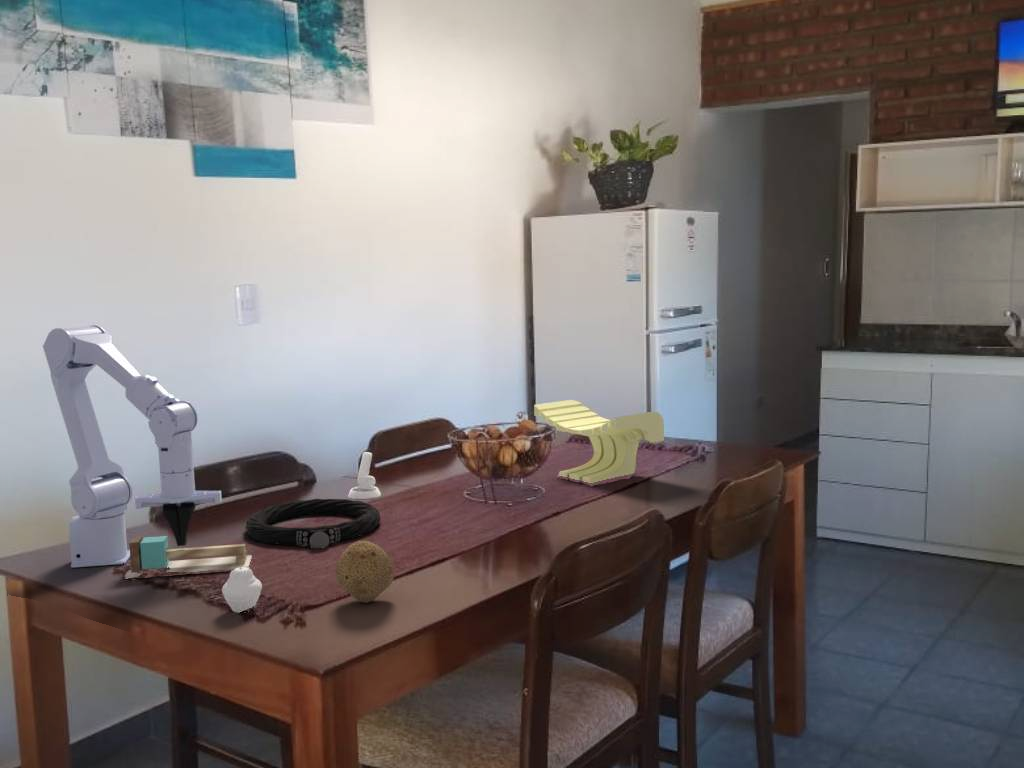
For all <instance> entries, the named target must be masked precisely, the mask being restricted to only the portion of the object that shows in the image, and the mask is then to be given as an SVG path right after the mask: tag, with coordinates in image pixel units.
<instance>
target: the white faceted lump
mask: <svg viewBox="0 0 1024 768" xmlns="http://www.w3.org/2000/svg"><path fill="white" fill-rule="evenodd" d="M256 577H257V576H255V575H254V572H253V570H252V569H251V568H250V567H249V568H247V567H239V568H236V569H234V570H232V571H231V572H229V577H228V579H227V581H225V583H224V584H223V586H222V588H221V593H222V595H223V596H224V599H225V601H226V602H227V604H228V606H229V607H230V609H231V610H232V611H233V612H234V613H237V614H241V613H240V612H242V611H244V610H247V609H249V608H252V607H253V606H255V607H256V605H257V602H258V601H259V598H260V596H261V591H262V589H263V585H262V582H261V581H260V580H259V579H258V578H256Z"/></svg>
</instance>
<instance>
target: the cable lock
mask: <svg viewBox="0 0 1024 768" xmlns="http://www.w3.org/2000/svg"><path fill="white" fill-rule="evenodd" d="M324 514H326V515H337V514H341V515H340V516H351V515H353V516H352V517H355V516H356V517H355V518H356V519H353V520H348V521H345V522H341V523H337V524H328V525H321V526H315V527H314V526H313V527H311V526H310V527H307V526H306V527H302V526H300V527H287V526H286V527H285V526H276V525H275V526H274V525H272V524H273V523H275V522H279V521H284V520H288V519H292V518H298V517H308V516H315V515H317V516H318V515H319V516H320V515H321V516H322V515H324ZM324 516H325V515H324ZM357 517H358V518H357ZM380 521H381V514H380V511H379V509H377V508H376V507H374V506H373V505H372V504H370V503H366V502H364V501H362V500H353V499H352V500H351V499H348V498H346V499H345V498H326V499H325V498H313V499H308V500H307V499H306V500H304V499H303V500H299V499H298V500H295V501H290V502H286V503H279V504H274V505H270V506H269V507H266V508H262V509H259V510H258V511H257V512H254V513H252V514H251V515H250V517H249V518H247V519H246V525H245V527H244V529H245V530H247V531H246V533H247V534H248V535H249V536H250V537H251V538H252V539H253V540H256V541H259V540H261V541H264V542H263V543H265V542H267V543H266V544H271V543H273V544H272V545H277V543H278V544H285V545H284V546H297V545H300V546H299V547H301V546H303V545H304V546H303V547H305V546H307V547H312V548H311V549H313V548H322V547H326V548H327V546H330V545H329V543H333V544H335V543H334V542H337V541H338V542H339V541H340V540H343V541H346V540H345V539H347V540H349V539H348V538H352V537H355V538H357V537H356V536H359V535H362V534H364V535H365V533H366V534H367V532H368V533H370V532H372V531H373V530H374V529H375V528H377V527H378V526H379V523H380ZM371 530H372V531H371ZM369 531H370V532H369ZM362 536H363V535H362ZM359 537H360V536H359ZM352 539H353V538H352ZM261 541H260V542H261ZM338 542H337V543H338ZM340 542H341V541H340ZM340 542H339V543H340ZM295 544H297V545H295ZM309 544H310V545H309ZM308 545H309V546H308Z"/></svg>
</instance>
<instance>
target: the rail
mask: <svg viewBox="0 0 1024 768" xmlns="http://www.w3.org/2000/svg"><path fill="white" fill-rule="evenodd" d="M143 539H144V537H143V536H133V537H132V538H131V540H130V541H129V543H128V544H129V550H130V557H129V558H130V560H129V561H130V568H131V570H128V571H126V573H125V575H124V578H125V579H128V578H134V577H138V576H140V575H142V573H141V574H140V573H137V572H139V571H140V570H141V569H142V561H141V548H140V543H141V541H142V540H143ZM165 553H166V559H169V563H168V565H167V566H166V567H167V568H168V567H169V568H170V570H167V572H168V571H169V572H197V571H198V572H199V571H208V570H228V569H229V570H232V569H236V568H239V567H247V568H249V569H250V567H249V565H250V566H251V564H250V562H251V563H252V561H251V559H253V557H252V556H253V555H251V554H247V549H246V543H241V544H239V543H238V544H225V545H211V546H198V547H197V546H196V547H195V546H194V547H184V548H181V547H180V548H170V549H169V548H168V549H167V550H165ZM228 555H229V556H228ZM231 555H235V556H231ZM213 556H215V557H213ZM216 556H220V557H216ZM200 557H202V558H200ZM203 557H207V558H203ZM187 558H188V559H187ZM189 558H196V559H189ZM173 559H180V560H173ZM181 559H182V560H181Z"/></svg>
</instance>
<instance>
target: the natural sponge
mask: <svg viewBox="0 0 1024 768" xmlns="http://www.w3.org/2000/svg"><path fill="white" fill-rule="evenodd" d="M335 578H336V580H337V582H338V584H339V585H340V586H341V588H342V589H343V590H344V591H346V592H347V594H349V595H350V596H351V597H352V598H353V599H356V601H359V602H361V603H363V604H364V603H365V604H366V603H367V604H368V603H371V602H373V601H375V600H376V599H377V598H378V597H379V596H380V594H382V592H384V591H386V590H387V589H389V587H390V586H391V585H392V582H393V580H394V568H393V565H392V563H391V560H390V558H389V556H388V555H387V553H386V552H385V550H384V549H383V548H382V547H380V546H379V545H378V544H375V543H373V542H372V541H371V542H370V541H368V540H358V541H356V542H353V543H352V544H350V545H349V546H347V547H346V548H345V549H344V551H343V552H342V553H341V555H340V557H339V560H338V563H337V565H336V568H335Z"/></svg>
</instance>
